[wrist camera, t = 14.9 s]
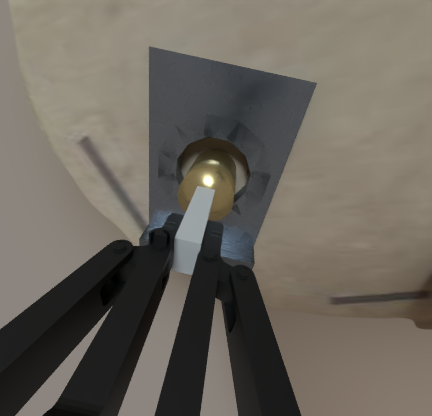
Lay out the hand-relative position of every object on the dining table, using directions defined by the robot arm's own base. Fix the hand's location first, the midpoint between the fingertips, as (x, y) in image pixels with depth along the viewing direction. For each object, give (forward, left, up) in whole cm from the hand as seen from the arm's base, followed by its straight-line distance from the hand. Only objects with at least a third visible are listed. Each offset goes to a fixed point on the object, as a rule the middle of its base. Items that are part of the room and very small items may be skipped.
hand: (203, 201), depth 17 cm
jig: (0, 0, -8) cm, 8 cm away
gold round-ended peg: (0, 0, -8) cm, 8 cm away
